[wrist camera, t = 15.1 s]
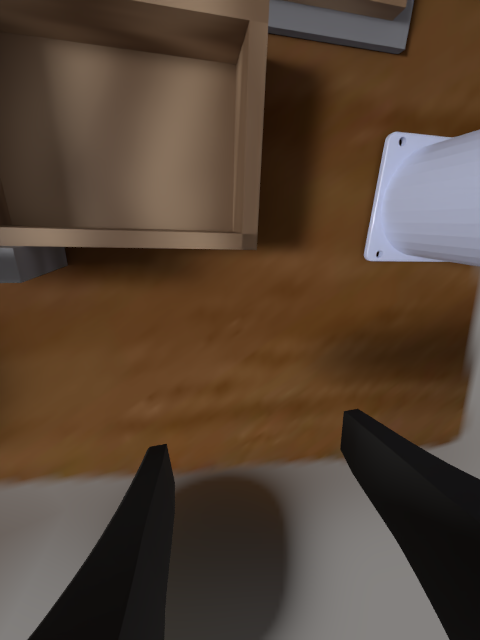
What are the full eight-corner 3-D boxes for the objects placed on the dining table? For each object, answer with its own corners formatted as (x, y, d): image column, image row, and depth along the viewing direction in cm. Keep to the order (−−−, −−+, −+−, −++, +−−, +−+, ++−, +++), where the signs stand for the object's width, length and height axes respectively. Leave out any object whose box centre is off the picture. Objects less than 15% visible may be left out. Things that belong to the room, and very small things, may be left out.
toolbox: (250, 17, 14) (306, -169, 7) (242, 266, 19) (272, 292, 12) (-212, -63, 11) (-883, -536, 4) (-87, 264, 15) (-307, 299, 8)
